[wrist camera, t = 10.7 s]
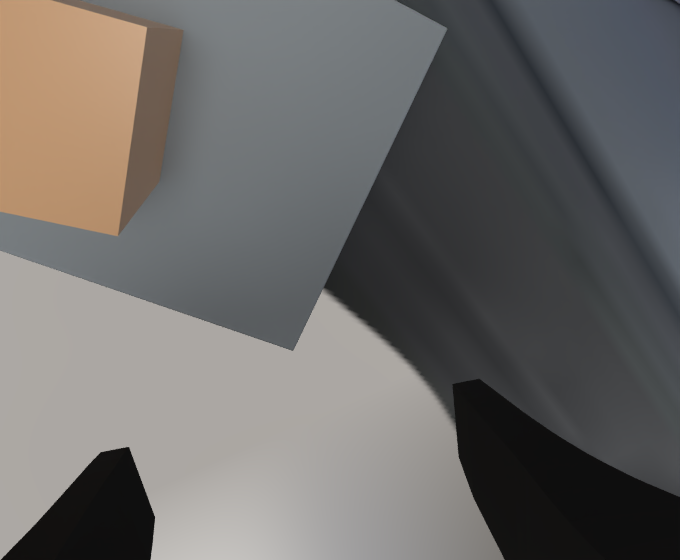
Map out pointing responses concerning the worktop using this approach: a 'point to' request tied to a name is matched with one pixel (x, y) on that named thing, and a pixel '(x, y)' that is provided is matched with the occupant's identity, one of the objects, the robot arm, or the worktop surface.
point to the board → (254, 158)
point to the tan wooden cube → (82, 111)
